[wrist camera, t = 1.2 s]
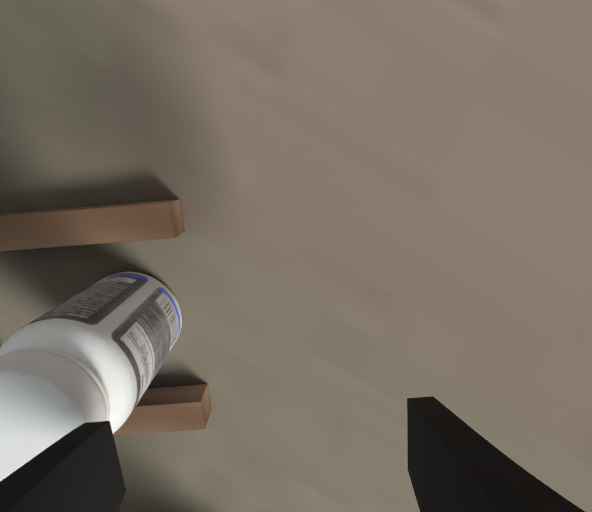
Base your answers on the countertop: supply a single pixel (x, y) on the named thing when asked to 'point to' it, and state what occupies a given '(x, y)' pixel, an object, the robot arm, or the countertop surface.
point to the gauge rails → (107, 229)
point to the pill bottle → (83, 363)
